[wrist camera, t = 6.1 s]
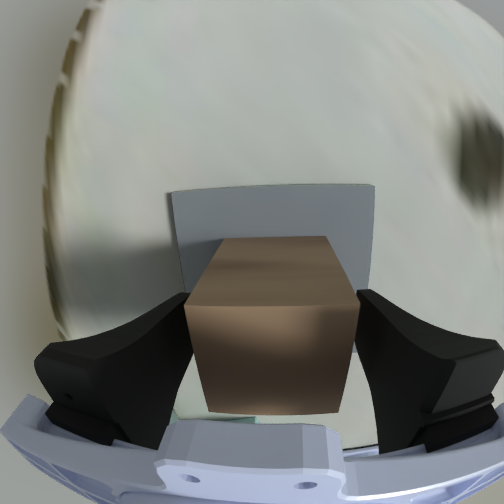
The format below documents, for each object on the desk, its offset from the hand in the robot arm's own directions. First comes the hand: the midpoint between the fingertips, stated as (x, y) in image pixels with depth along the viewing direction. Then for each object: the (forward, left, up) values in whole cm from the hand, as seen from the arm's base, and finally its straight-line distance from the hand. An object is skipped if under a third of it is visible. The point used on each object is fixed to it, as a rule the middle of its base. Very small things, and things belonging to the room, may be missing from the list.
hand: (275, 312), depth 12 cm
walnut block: (0, 0, -3) cm, 3 cm away
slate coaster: (0, 0, -3) cm, 3 cm away
